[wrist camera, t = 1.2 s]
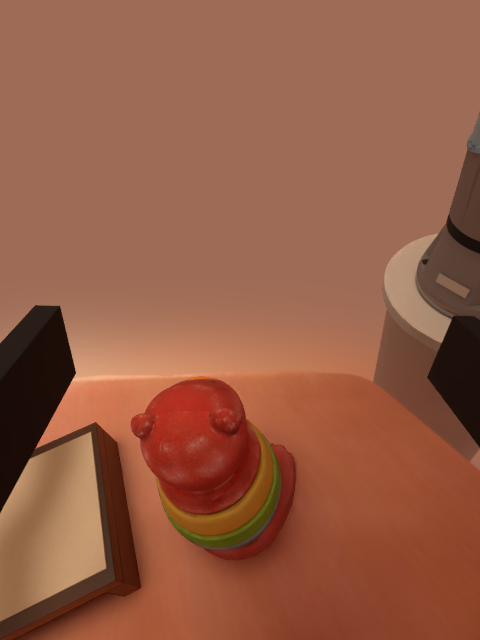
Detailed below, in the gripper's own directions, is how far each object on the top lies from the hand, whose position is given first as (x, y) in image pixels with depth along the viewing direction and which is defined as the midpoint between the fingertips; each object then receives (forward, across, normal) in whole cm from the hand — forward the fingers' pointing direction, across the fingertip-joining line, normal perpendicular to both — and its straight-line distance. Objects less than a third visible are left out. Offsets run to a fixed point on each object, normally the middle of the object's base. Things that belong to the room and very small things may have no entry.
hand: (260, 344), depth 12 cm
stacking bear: (+10, +1, -24) cm, 26 cm away
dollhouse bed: (+8, -17, -29) cm, 35 cm away
